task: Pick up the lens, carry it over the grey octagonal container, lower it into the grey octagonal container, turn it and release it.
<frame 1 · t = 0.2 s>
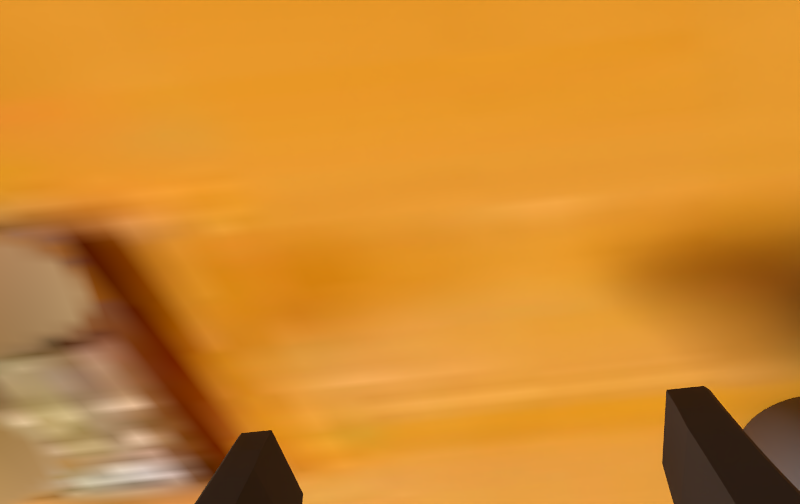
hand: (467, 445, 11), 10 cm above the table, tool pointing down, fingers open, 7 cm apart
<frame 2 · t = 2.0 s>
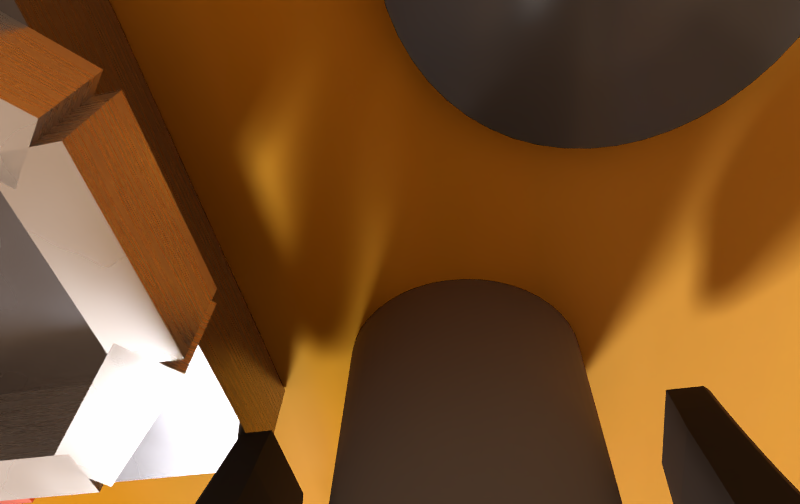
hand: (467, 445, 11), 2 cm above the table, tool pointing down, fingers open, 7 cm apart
lens: (464, 368, 13), on the table
grey octagonal container: (22, 226, 11), on the table
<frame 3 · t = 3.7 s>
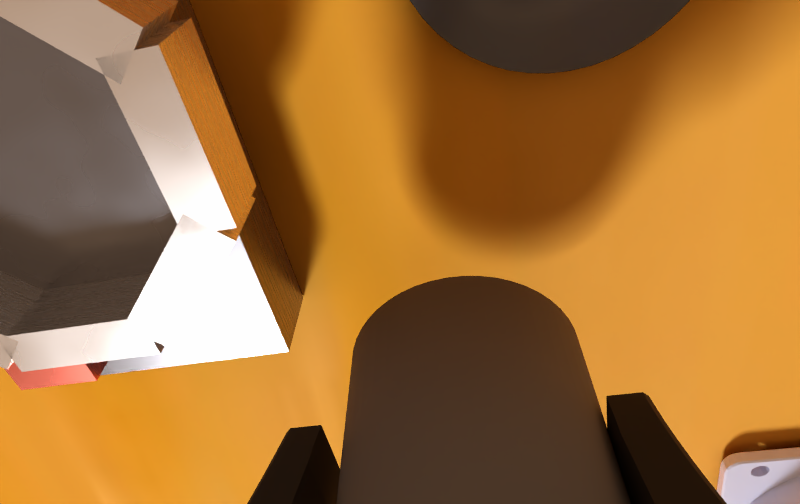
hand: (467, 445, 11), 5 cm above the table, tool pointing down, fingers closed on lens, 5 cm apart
lens: (465, 365, 13), point 3 cm above the table, touching gripper
grey octagonal container: (89, 148, 14), on the table
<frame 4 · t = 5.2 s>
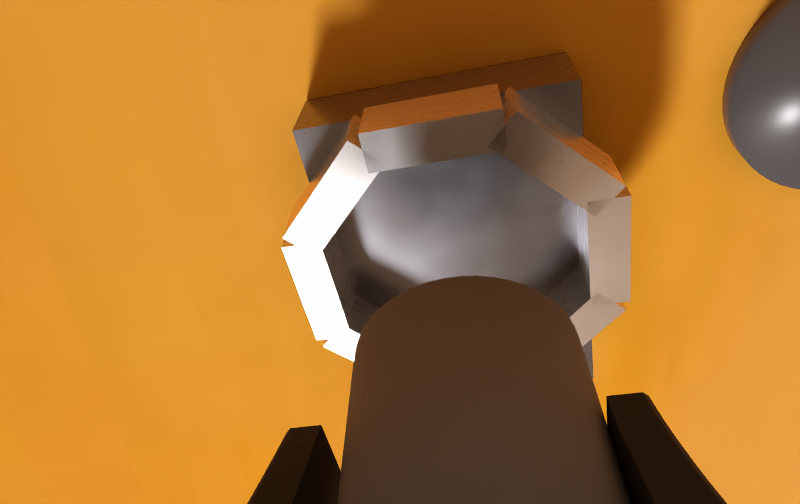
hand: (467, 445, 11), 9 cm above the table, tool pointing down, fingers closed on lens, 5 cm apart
lens: (466, 365, 13), point 7 cm above the table, touching gripper
grey octagonal container: (459, 232, 19), on the table
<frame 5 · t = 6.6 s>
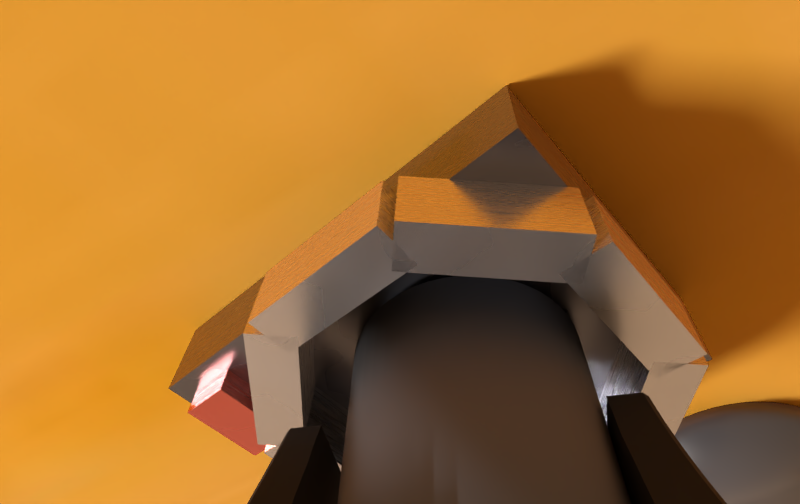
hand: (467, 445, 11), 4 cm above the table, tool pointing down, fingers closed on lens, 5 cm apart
lens: (466, 364, 13), point 2 cm above the table, touching gripper
grey octagonal container: (428, 315, 15), on the table
lens cap: (727, 459, 19), on the table
when the fingers open (4 cm above the table, at t = 7.7 s): lens stays where it is, resting on grey octagonal container.
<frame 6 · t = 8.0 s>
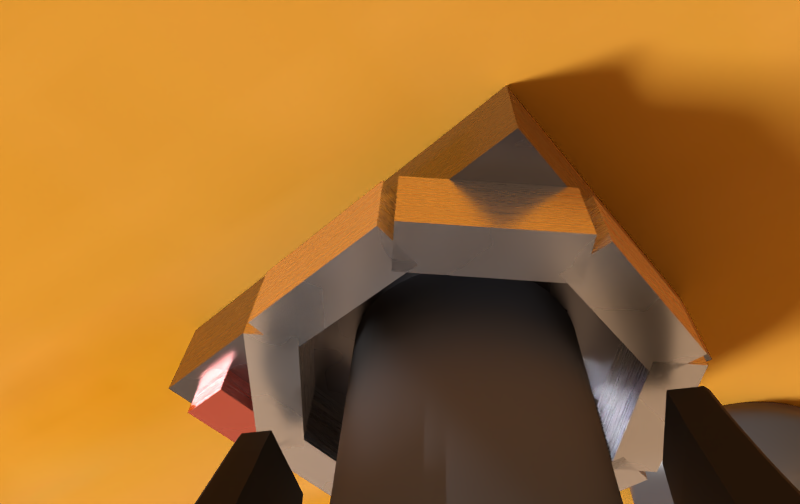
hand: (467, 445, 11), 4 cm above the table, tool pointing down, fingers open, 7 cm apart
lens: (464, 354, 13), point 2 cm above the table, touching grey octagonal container
grey octagonal container: (428, 315, 15), on the table
lens cap: (727, 459, 19), on the table
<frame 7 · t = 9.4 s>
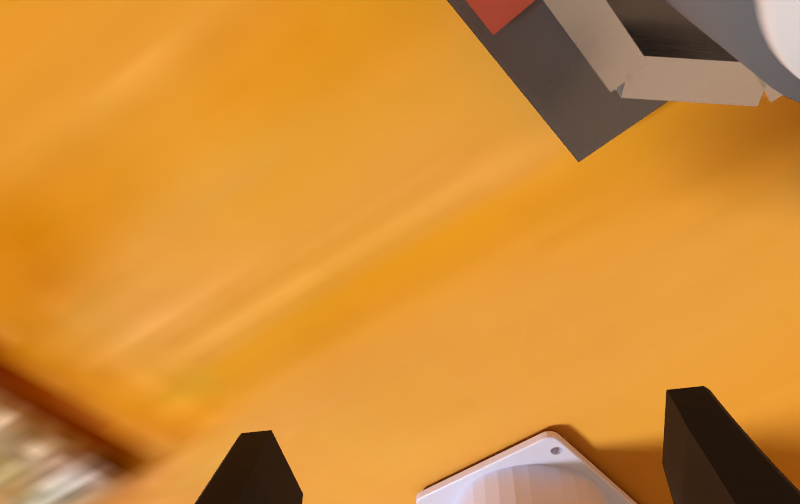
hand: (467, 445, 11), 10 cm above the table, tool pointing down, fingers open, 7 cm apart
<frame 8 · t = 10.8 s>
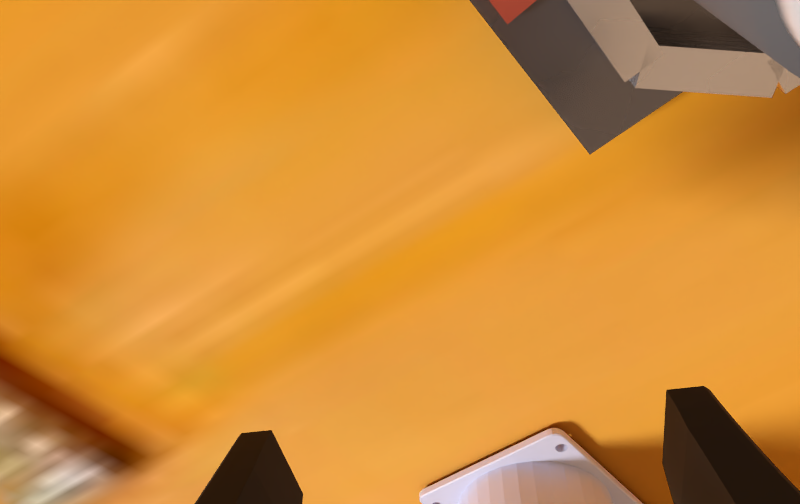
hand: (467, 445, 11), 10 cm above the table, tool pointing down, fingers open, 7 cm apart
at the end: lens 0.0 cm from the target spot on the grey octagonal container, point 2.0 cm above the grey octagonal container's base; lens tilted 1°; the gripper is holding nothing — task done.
